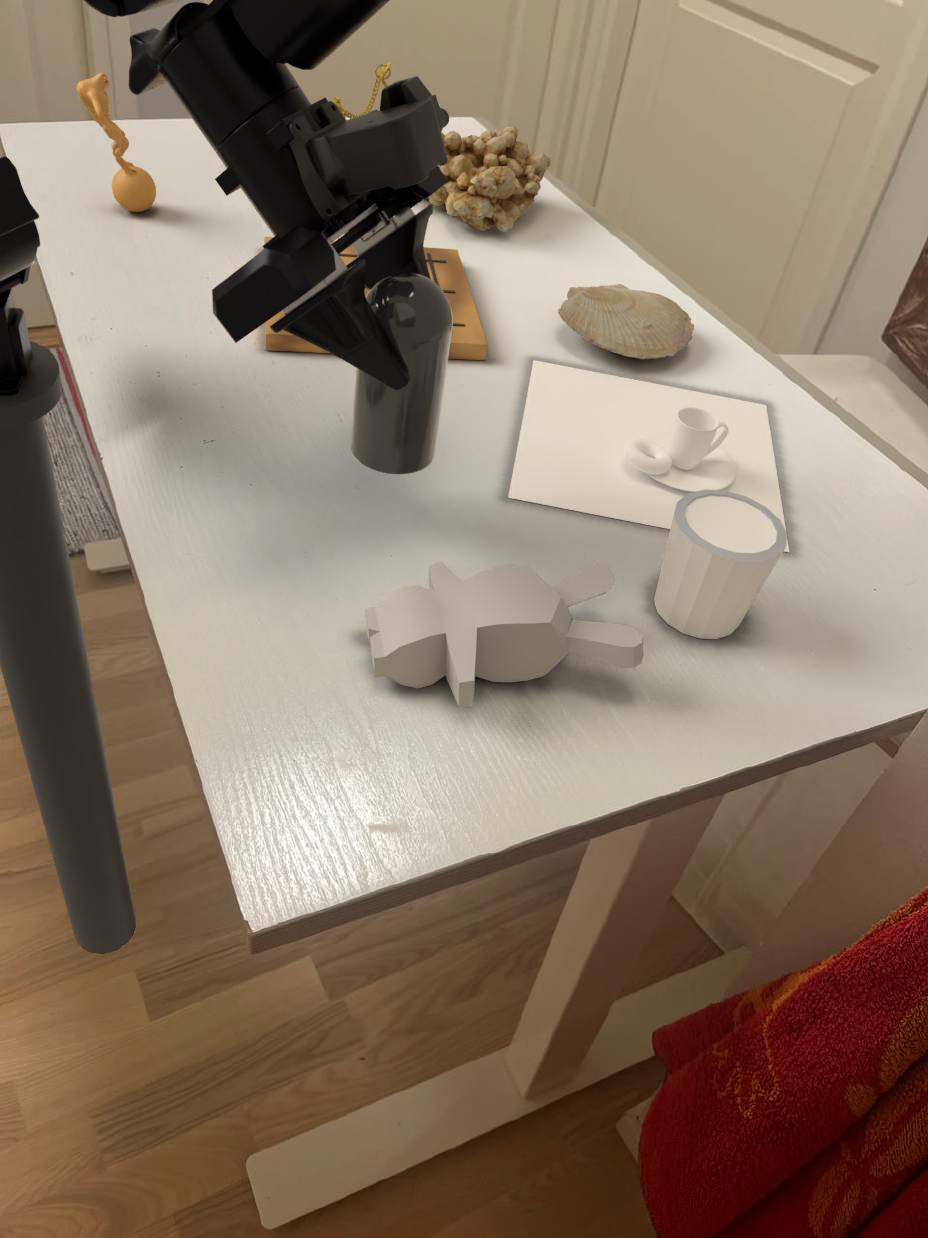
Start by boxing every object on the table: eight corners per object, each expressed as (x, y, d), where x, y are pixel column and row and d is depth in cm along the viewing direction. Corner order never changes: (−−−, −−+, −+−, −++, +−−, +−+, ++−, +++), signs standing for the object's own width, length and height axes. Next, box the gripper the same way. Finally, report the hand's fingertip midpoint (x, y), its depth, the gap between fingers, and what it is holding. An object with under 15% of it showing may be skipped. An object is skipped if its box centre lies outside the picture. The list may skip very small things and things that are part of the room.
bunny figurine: (357, 554, 57) (608, 525, 59) (362, 618, 61) (598, 587, 63) (379, 676, 50) (661, 638, 53) (383, 739, 54) (647, 700, 56)
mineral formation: (390, 193, 106) (501, 168, 113) (462, 265, 100) (573, 235, 107) (400, 119, 99) (516, 97, 106) (477, 192, 94) (595, 165, 101)
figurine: (166, 227, 93) (155, 88, 85) (99, 230, 91) (81, 88, 83) (148, 191, 98) (137, 57, 90) (84, 193, 96) (67, 56, 88)
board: (265, 350, 80) (265, 332, 78) (264, 251, 92) (264, 234, 91) (485, 360, 83) (488, 343, 82) (455, 264, 96) (457, 247, 95)
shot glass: (671, 652, 60) (705, 565, 56) (627, 577, 65) (655, 491, 60) (769, 640, 62) (810, 555, 58) (719, 568, 67) (754, 484, 62)
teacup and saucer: (619, 483, 73) (633, 436, 70) (621, 425, 78) (634, 379, 76) (737, 506, 72) (756, 460, 70) (731, 446, 78) (748, 401, 75)
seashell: (665, 388, 84) (675, 358, 82) (536, 345, 86) (543, 314, 84) (696, 334, 92) (706, 305, 90) (577, 296, 94) (584, 266, 92)
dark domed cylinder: (353, 473, 61) (366, 296, 53) (348, 424, 65) (359, 252, 57) (439, 476, 63) (465, 302, 55) (429, 427, 66) (451, 258, 58)
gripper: (264, 68, 42) (468, 378, 48) (434, -5, 55) (578, 245, 61) (122, 204, 49) (315, 461, 54) (304, 110, 62) (444, 325, 68)
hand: (423, 365), depth 59 cm, fingers closed on dark domed cylinder, 5 cm apart
